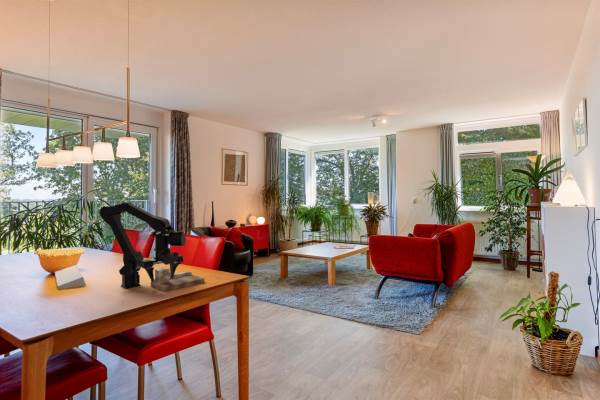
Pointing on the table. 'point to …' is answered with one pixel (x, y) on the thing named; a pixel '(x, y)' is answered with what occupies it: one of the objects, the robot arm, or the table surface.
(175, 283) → the board
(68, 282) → the white wedge doorstop
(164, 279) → the ball-top joystick
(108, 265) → the table surface
